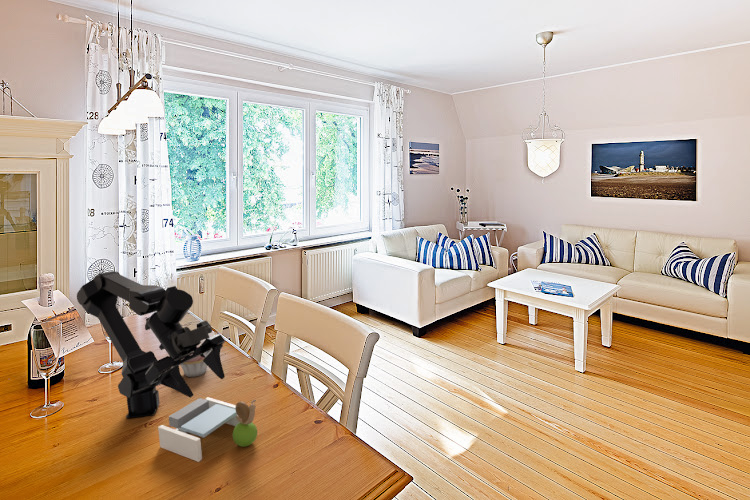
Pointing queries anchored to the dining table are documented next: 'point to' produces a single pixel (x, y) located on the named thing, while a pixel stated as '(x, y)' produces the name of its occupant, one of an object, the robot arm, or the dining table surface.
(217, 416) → the trapdoor
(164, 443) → the frame
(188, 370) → the cupcake
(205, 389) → the dining table surface
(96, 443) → the dining table surface
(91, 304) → the robot arm
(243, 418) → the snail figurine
